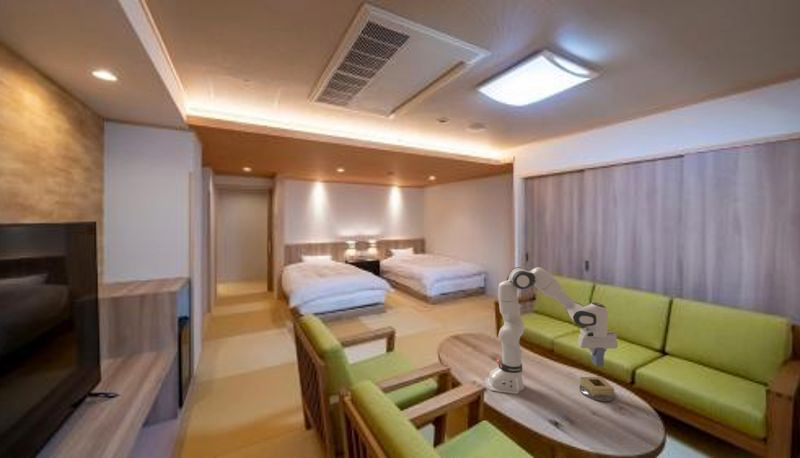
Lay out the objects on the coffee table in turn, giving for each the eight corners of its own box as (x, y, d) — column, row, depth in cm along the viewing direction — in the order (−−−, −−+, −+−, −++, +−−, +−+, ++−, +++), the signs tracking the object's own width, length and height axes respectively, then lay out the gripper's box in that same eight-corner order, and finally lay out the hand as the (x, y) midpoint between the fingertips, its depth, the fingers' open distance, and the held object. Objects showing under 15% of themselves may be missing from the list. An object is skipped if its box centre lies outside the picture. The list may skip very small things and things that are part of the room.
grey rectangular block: (596, 366, 176) (596, 348, 175) (591, 361, 181) (591, 344, 180) (603, 366, 175) (603, 348, 175) (598, 361, 180) (598, 344, 180)
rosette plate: (589, 401, 171) (589, 391, 171) (573, 384, 188) (574, 374, 188) (621, 402, 170) (621, 391, 170) (602, 384, 187) (603, 374, 187)
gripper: (613, 329, 180) (612, 352, 180) (576, 329, 181) (576, 352, 181) (620, 333, 173) (619, 357, 174) (582, 333, 174) (582, 357, 175)
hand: (597, 355), depth 178 cm, fingers closed on grey rectangular block, 4 cm apart
